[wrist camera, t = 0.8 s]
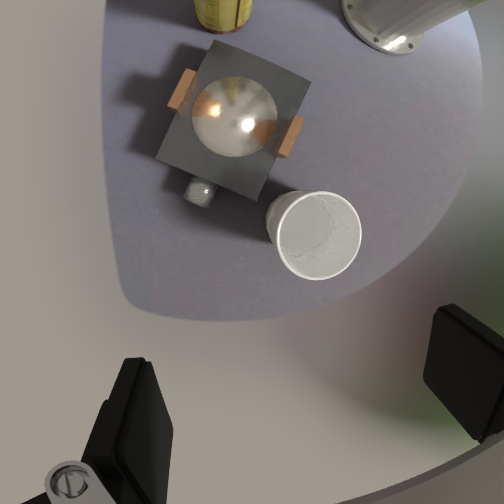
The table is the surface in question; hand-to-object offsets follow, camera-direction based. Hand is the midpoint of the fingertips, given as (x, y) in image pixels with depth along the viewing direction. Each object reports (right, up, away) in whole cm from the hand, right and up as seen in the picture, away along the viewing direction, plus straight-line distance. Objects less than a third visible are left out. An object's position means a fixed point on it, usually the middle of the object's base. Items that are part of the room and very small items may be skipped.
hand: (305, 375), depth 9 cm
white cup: (+3, +8, +28) cm, 29 cm away
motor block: (-4, +17, +25) cm, 30 cm away
